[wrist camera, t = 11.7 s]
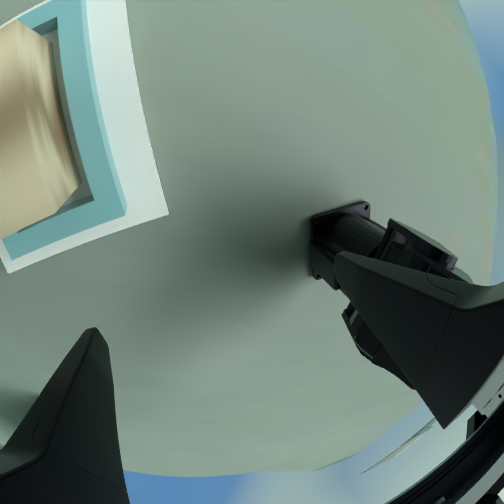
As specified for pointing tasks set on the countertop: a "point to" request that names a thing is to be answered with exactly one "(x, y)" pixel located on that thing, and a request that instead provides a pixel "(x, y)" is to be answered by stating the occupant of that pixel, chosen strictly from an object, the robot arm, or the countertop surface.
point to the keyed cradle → (93, 131)
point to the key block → (31, 132)
